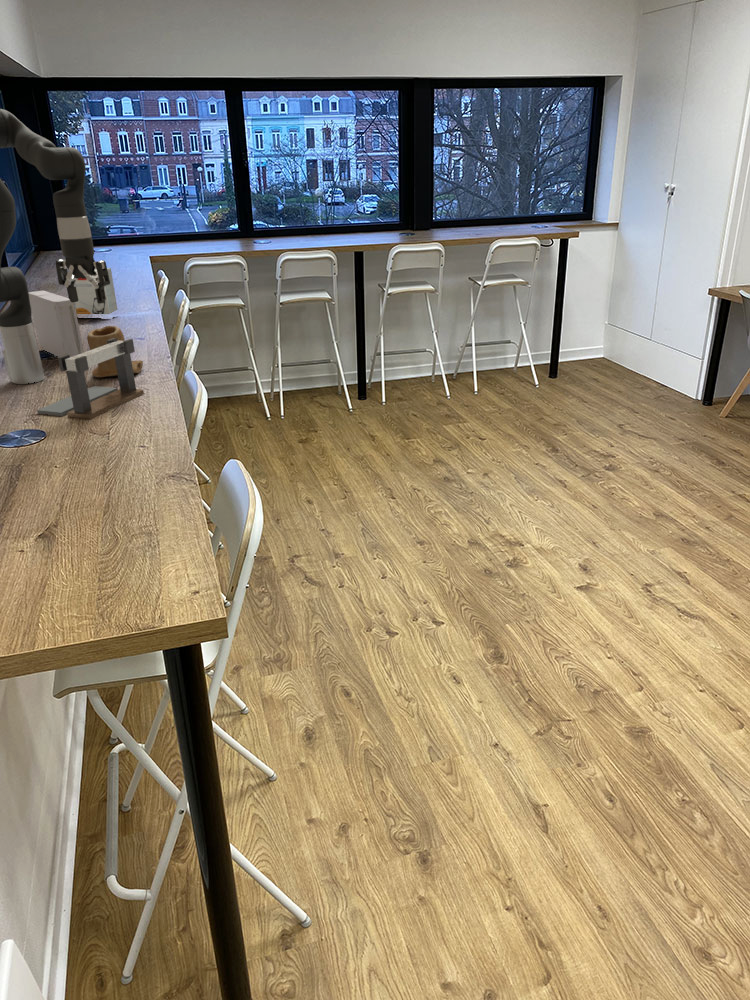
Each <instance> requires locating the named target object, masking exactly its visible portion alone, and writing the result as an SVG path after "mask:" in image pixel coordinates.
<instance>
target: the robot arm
mask: <svg viewBox="0 0 750 1000" xmlns="http://www.w3.org/2000/svg"><path fill="white" fill-rule="evenodd" d="M7 148H15V150H16V152H17V154H18V155H19V156H20V158H22V159H23V160H24V161H25V162H27V163H29V164H30V165H32V166H35V168H36V169H37V171H38V172H39V173H40V174H41V176H42V177H43V178H45V179H48V180H51V181H63V180H65V181H66V180H67V182H66V185H65V188H63V189H61V190H58V191H55V192H54V193H53V195H52V201H53V207H54V210H55V217H56V225H57V226H56V227H57V233H58V236H59V242H60V248H61V253H62V256H63V257H64V258H65V259H59V260H56V261H55V269H56V275H57V281H58V284H59V285H61V286H64V287H65V288H66V291H67V296H68V297H67V298H69V299H70V301H71V302H78V295H77V290H76V287H74V285H75V283H76V281H77V279H79V278H82V279H87V280H88V281H89V282H91V283H92V284H93V285H94V287H95V288H96V289H95V292H96V298H97V303H99V304H101V303H105V300H106V296H105V291H104V287H105V286H107V285H109V284H110V280H109V275H108V271H107V268H108V267H107V262H106V260H104V259H103V260H98V261H95V258H94V256H95V248H94V243H93V237H92V232H91V227H90V223H89V219H88V216H87V210H86V204H85V198H84V197H85V180H86V160H85V158H84V156H83V154H82V153H81V152H80V150H79V149H77V148H75V147H72V146H71V147H69V146H68V147H67V146H66V147H61V146H60V147H57V146H56V145H55V144H54V143H53V142H52V141H51V140H49V139H47V138H46V137H43V136H41V135H39V134H37V133H35V132H34V131H32V130H31V129H30V128H29V127H27V126H26V125H25V124H24V123H23V122H22V121H20V119H18V118H17V117H16V116H15V115H14V114H13V113H11V112H10V111H8V110H6V109H4V108H3V109H2V108H0V149H7ZM16 214H17V213H16V203H15V199H14V197H13V194H12V192H11V191H10V190H9V188H8V187H7V186H6V184H5V183H4V181H3V180H2V179H1V178H0V303H4V302H10V303H9V306H8V307H7V308H6V309H5V310H4V311H2V312H1V313H0V335H1V340H2V344H3V348H4V349H3V351H2V355H3V359H4V363H5V367H6V372H7V375H8V379H9V382H11V383H13V384H17V385H27V384H28V383H29V384H34V382H35V383H39V382H41V381H43V380H45V377H46V376H45V374H44V368H43V363H42V359H41V354H40V350H39V346H38V345H39V344H38V342H37V341H38V339H37V335H36V332H35V326H34V322H33V317H32V310H31V305H30V299H29V293H28V292H29V288H28V287H29V286H28V283H27V279H26V276H25V274H24V272H23V271H22V270H21V269H20V267H17V266H5V267H1V266H2V258H3V253H4V251H5V249H6V247H7V245H8V244H9V242H10V240H11V238H12V237H13V234H14V232H15V229H16V226H17V217H16ZM95 269H97V271H96V270H95ZM68 270H69V271H68ZM92 275H93V276H92ZM104 280H105V281H104Z"/></svg>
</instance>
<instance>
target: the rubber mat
mask: <svg viewBox="0 0 750 1000" xmlns="http://www.w3.org/2000/svg"><path fill="white" fill-rule="evenodd" d="M87 389H88V394H89V399H90V402H92V401H94V400H97V399H99V398H101V397H103V396H106V395H108V394H110V393H112V392H115V391H117V390H118V387H111V386H99V385H98V386H97V385H94V386H91V387H89V388H87ZM72 410H74V407H73V402H72V398H71V395H70V396H67V397H65V398H63V399H60V400H58V401H56V402H55V401H54V402H53V403H50V404H48V405H46V406H43V407H42V408H39V409H37V410H36V411H37V414H38V415H45V414H48V416H54V415H55V416H56V417H64V416H66V415H68V414H67V412H70V411H72Z"/></svg>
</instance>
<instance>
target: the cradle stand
mask: <svg viewBox="0 0 750 1000" xmlns="http://www.w3.org/2000/svg"><path fill="white" fill-rule="evenodd" d="M115 341H117V338H112V339H109V340H107V344H109V343H112V342H115ZM123 345H124V351H125V353H124V354H122V355H119V356H116V357H115V362H116V368H117V373H118V376H117V378H118V384H119V389H117V391H115V392H112V393H110V394H108V395H106V396H103V397H101V398H99V399H97V400H94V401H92V402H90V399H89V394H88V389H89V388H88V386H87V385H88V384H87V380H86V375H85V372H86V371H89V370H90V367H88V362H87V357H86V356H81V357H79V358H76V359H75V361H76V366H77V372H74V371H67V367H66V362H65V359H67V358H70V356H69V355H63V356H61V357H57V360H58V365H59V370H60V372H66V373H65V374H66V378H67V383H68V388H69V393H70V396H71V398H72V402H73V407H74V410H72V411H70V412H67V414H66V415H67V417H68V418H75V419H84V420H92V419H94V418H96V417H98V416H100V415H102V414H104V413H106V412H108V411H111V410H113V409H115V408H117V407H119V406H121V405H123V404H125V403H128V402H129V401H132V400H133V399H136V398H138V397H140V396H142V395H144V394H145V393H144V389H139V388H137V386H136V380H135V374H134V373H133V368H132V362H131V361H132V357H131V354H133V353H135V351H136V350H135V346H134V339H133V338H128V339H126V340H125V341H123ZM114 407H115V408H114ZM112 408H113V409H112ZM110 409H111V410H110Z"/></svg>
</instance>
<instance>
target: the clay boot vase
mask: <svg viewBox="0 0 750 1000" xmlns="http://www.w3.org/2000/svg"><path fill="white" fill-rule="evenodd" d="M112 338H117V341H125V337H124V333H123V332H122V330H121V328H120V327H118V326H115V325H106V326H104V327H103V326H102V327H101V328H95V329H93V330H90V331H89V332H88V333H87V337H86V341H87V344H88V347H89V351H90V350H93V349H95V348H98V347H101V346H104V345H107V340H109V339H112ZM131 362H132V368H133V373H134V375H135V374H139V373H140V372H141V371H142V369H143V365H144V361H143V360H131ZM91 374H92V376H94V377H95V378H109V377H118V373H117V368H116V362H115V357H114V358H111V359H109V360H106V361H103V362H101V363H98V364H97V367H95V368H94V369H93V370H92V371H91Z"/></svg>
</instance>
